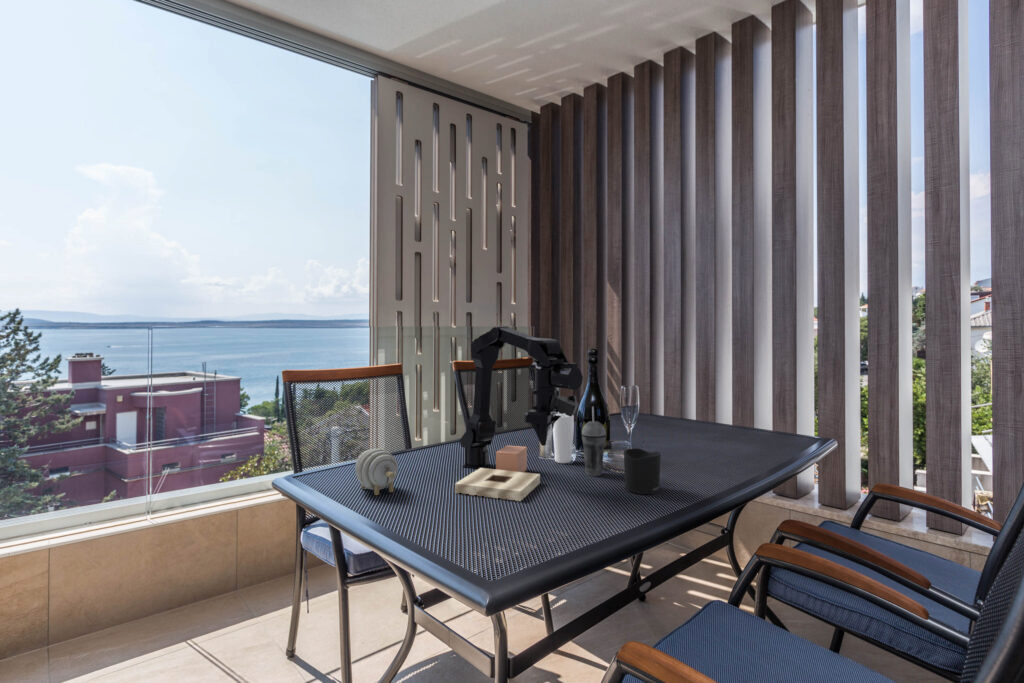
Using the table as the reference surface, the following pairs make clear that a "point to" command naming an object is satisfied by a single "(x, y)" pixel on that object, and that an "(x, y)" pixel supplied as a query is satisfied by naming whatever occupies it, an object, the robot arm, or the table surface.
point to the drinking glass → (563, 438)
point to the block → (512, 458)
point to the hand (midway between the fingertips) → (545, 444)
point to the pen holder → (641, 471)
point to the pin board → (498, 484)
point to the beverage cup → (593, 446)
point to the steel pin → (547, 445)
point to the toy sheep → (376, 470)
